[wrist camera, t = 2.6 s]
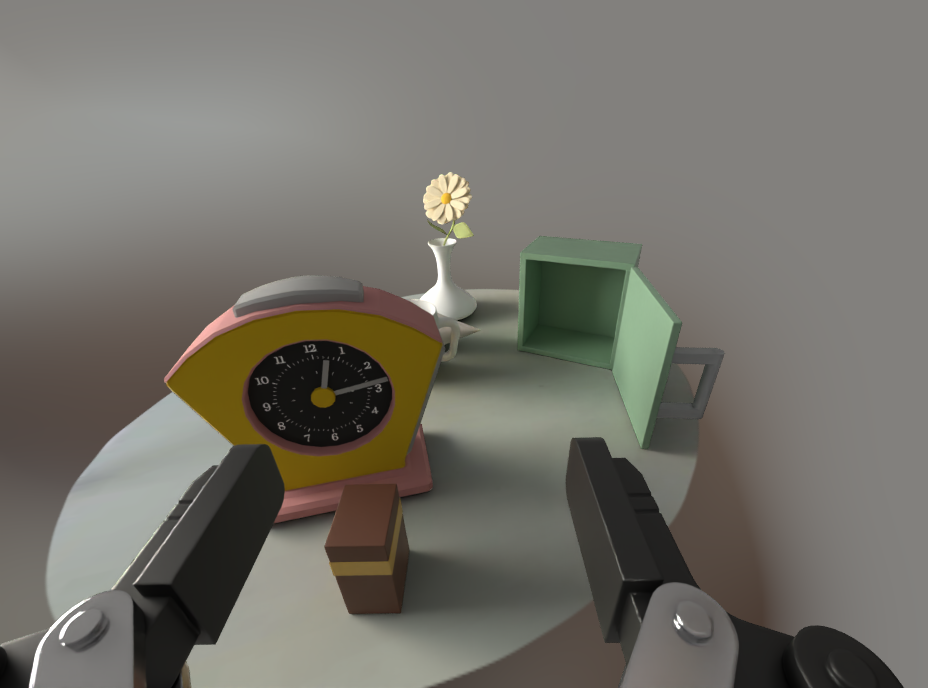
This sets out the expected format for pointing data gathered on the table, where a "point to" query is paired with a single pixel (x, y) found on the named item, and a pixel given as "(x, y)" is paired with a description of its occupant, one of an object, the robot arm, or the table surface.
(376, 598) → the chocolate box
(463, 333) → the ice cream cone
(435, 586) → the table surface
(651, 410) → the cupboard door
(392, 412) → the yellow alarm clock
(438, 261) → the flower in vase
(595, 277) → the cupboard
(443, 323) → the mug
